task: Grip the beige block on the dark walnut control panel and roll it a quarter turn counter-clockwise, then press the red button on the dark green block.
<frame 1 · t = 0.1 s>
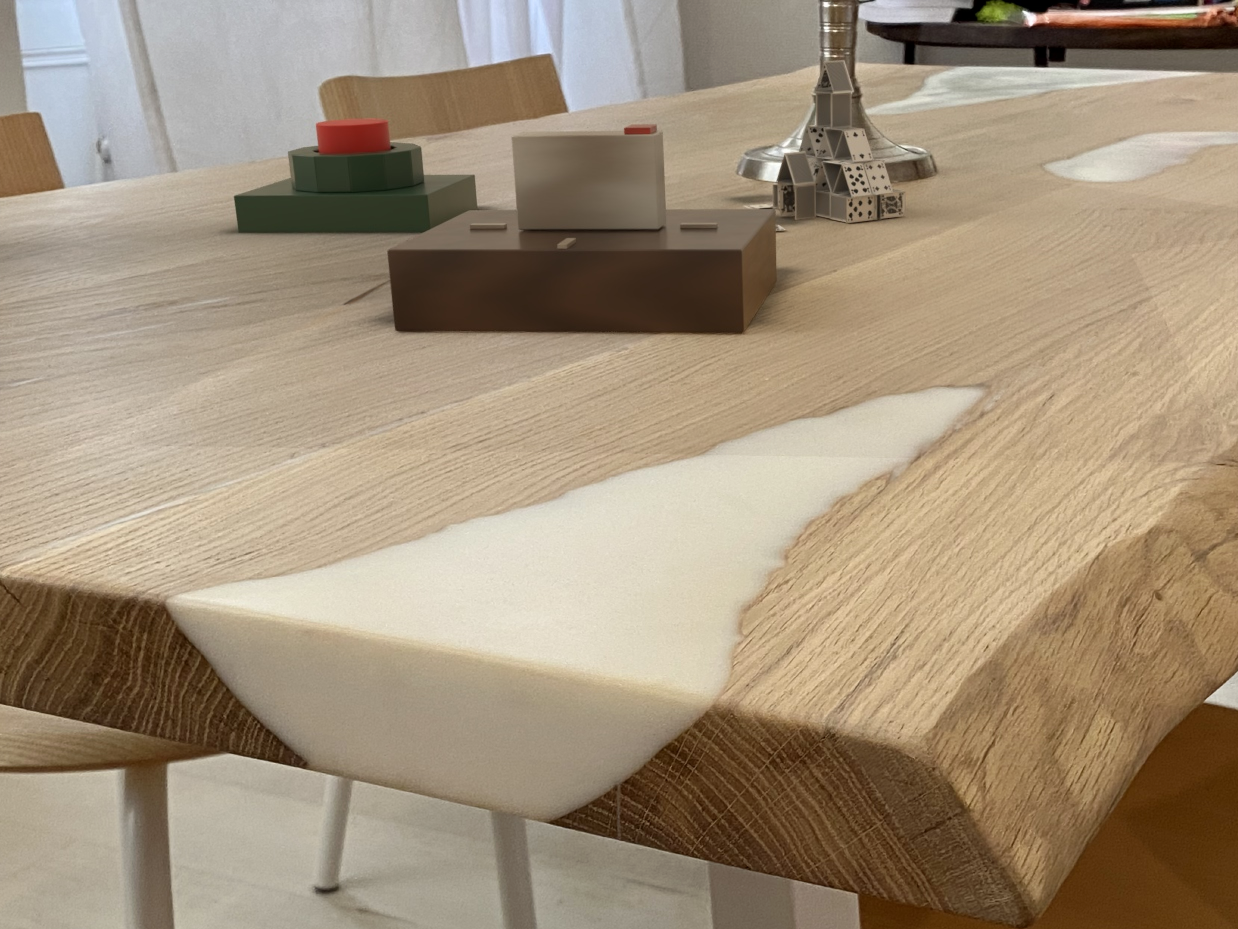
button: (353, 139, 83), point 4 cm above the table, slide at 0.1 cm
panel: (597, 305, 63), on the table
house of cards: (791, 218, 85), on the table
button block: (363, 227, 84), on the table
beige block: (589, 177, 62), point 5 cm above the table, hinge at 0.0°
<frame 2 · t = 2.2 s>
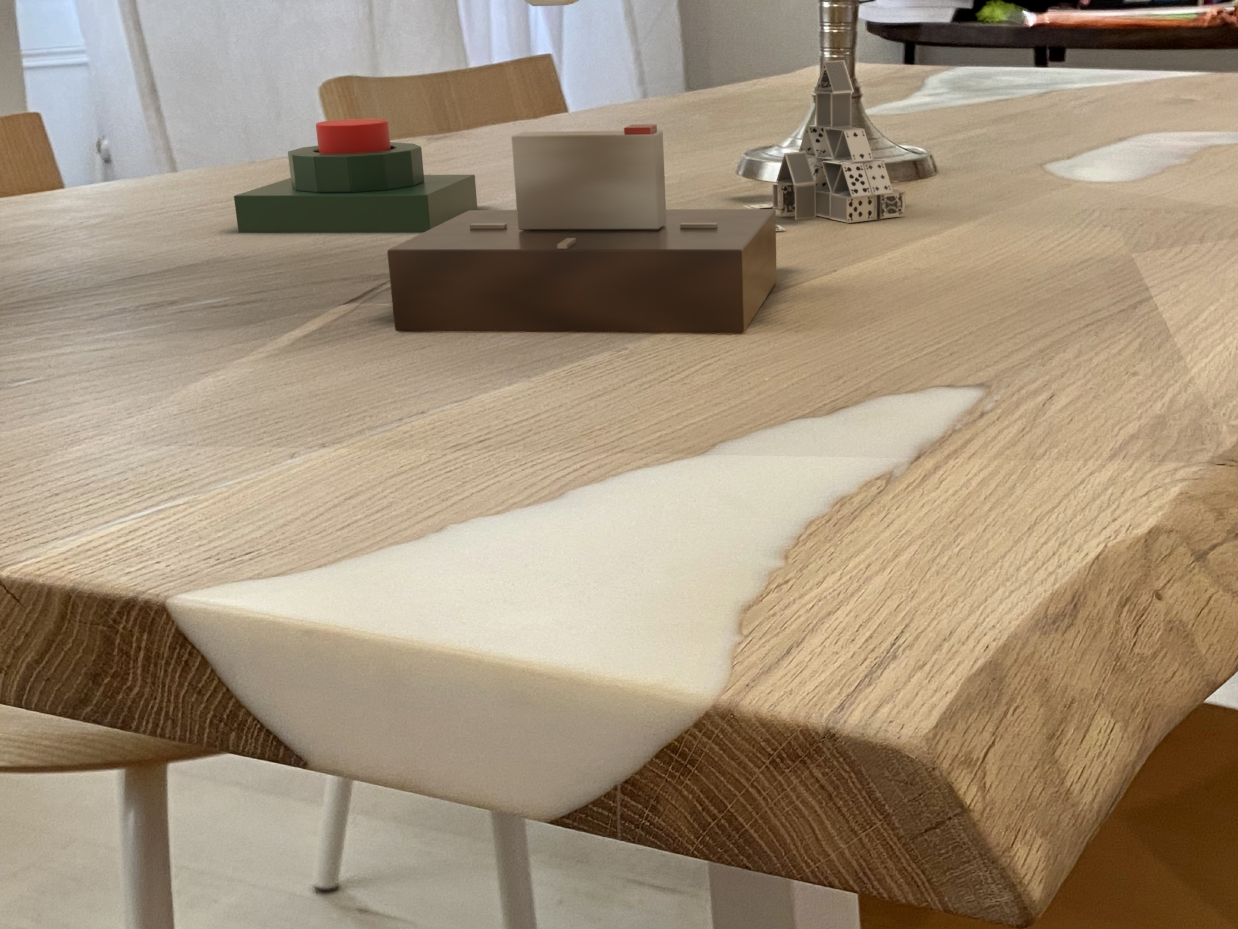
hand: (585, 2, 59), 11 cm above the table, tool pointing down, fingers open, 8 cm apart
nothing on the table moved.
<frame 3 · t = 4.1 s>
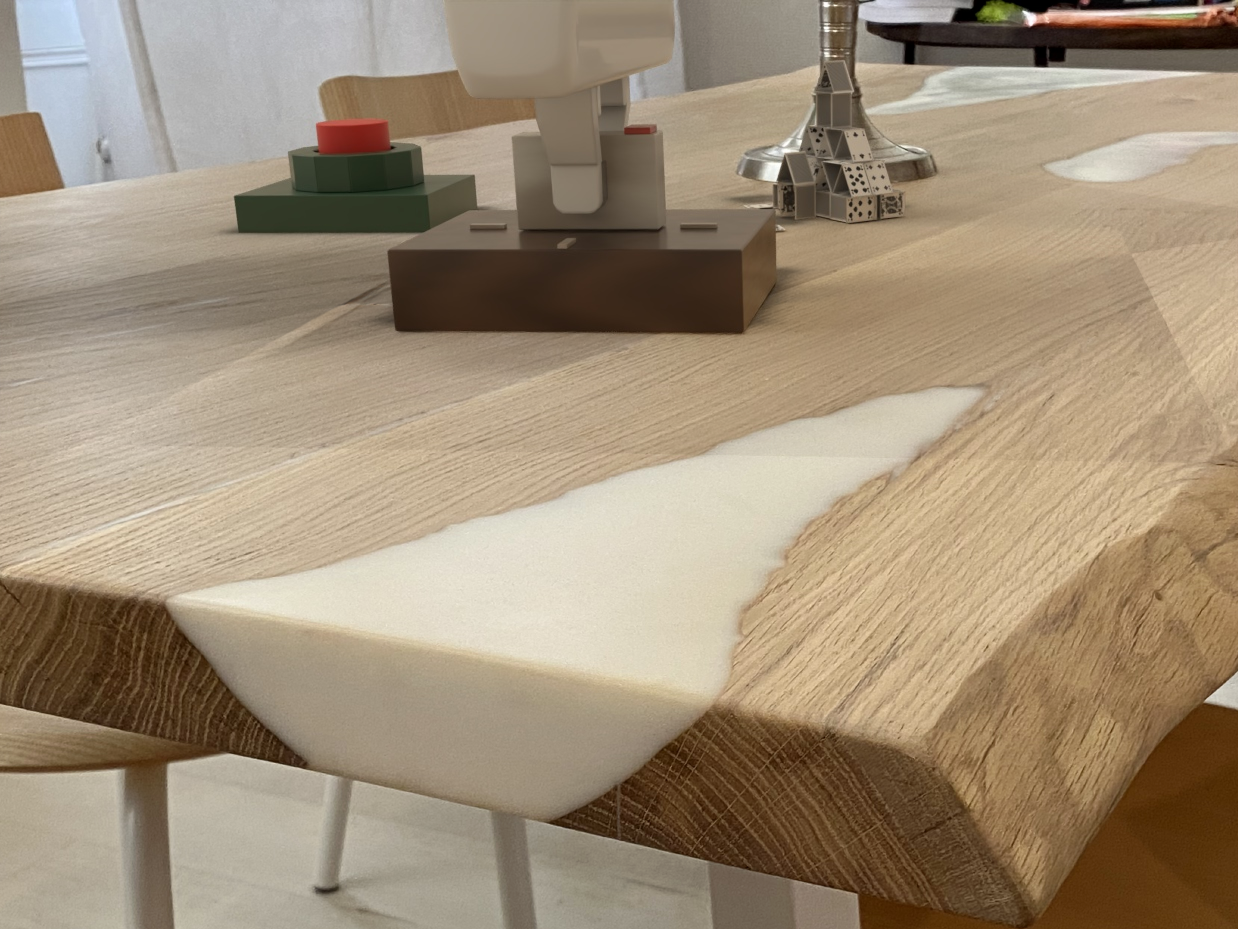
hand: (590, 205, 62), 4 cm above the table, tool pointing down, fingers closed on beige block, 2 cm apart
beige block: (589, 177, 62), point 5 cm above the table, hinge at 0.0°, touching gripper
everything else where it was.
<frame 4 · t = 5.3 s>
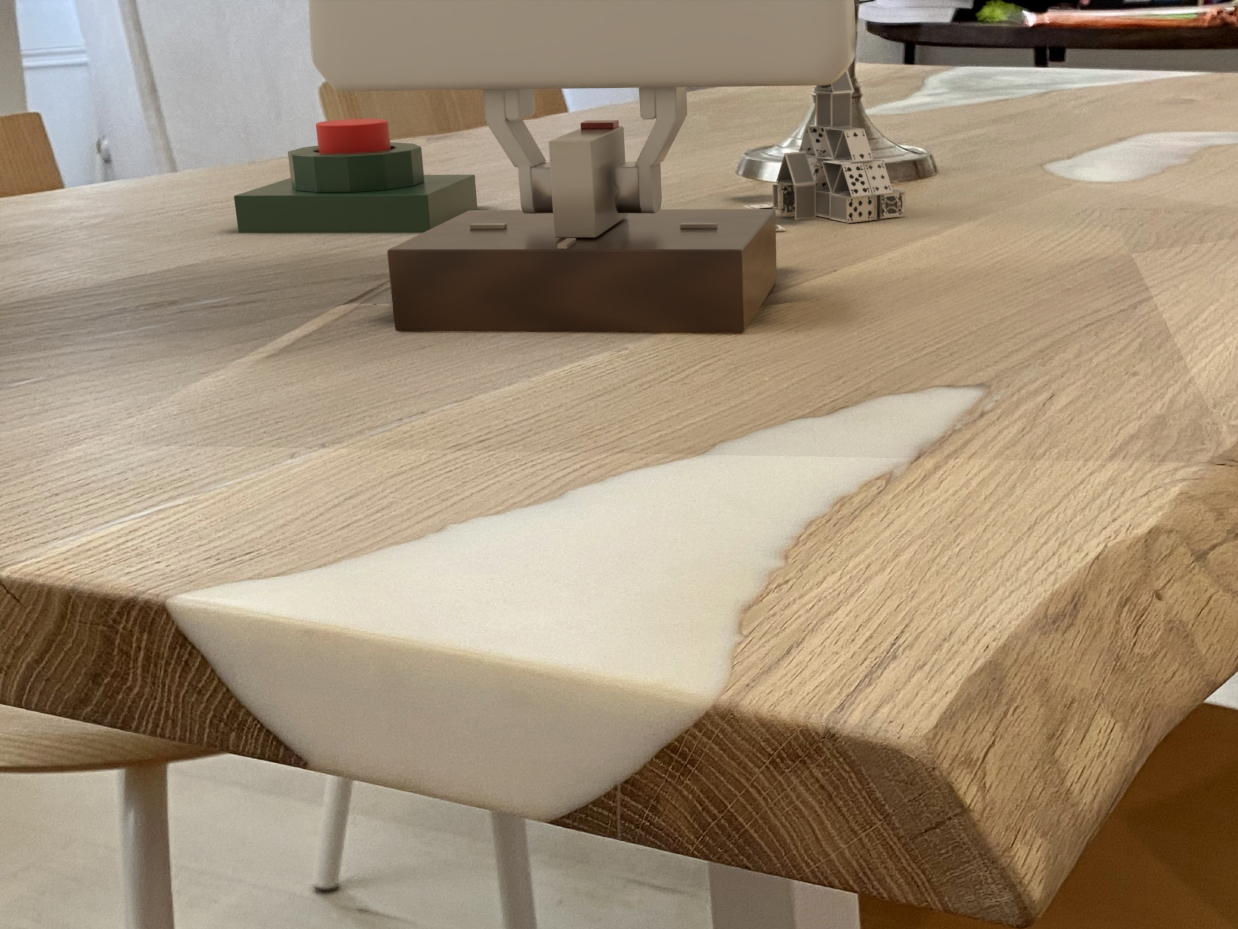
hand: (592, 211, 62), 4 cm above the table, tool pointing down, fingers closed
beige block: (589, 177, 62), point 5 cm above the table, hinge at 89.4°
everything else where it was.
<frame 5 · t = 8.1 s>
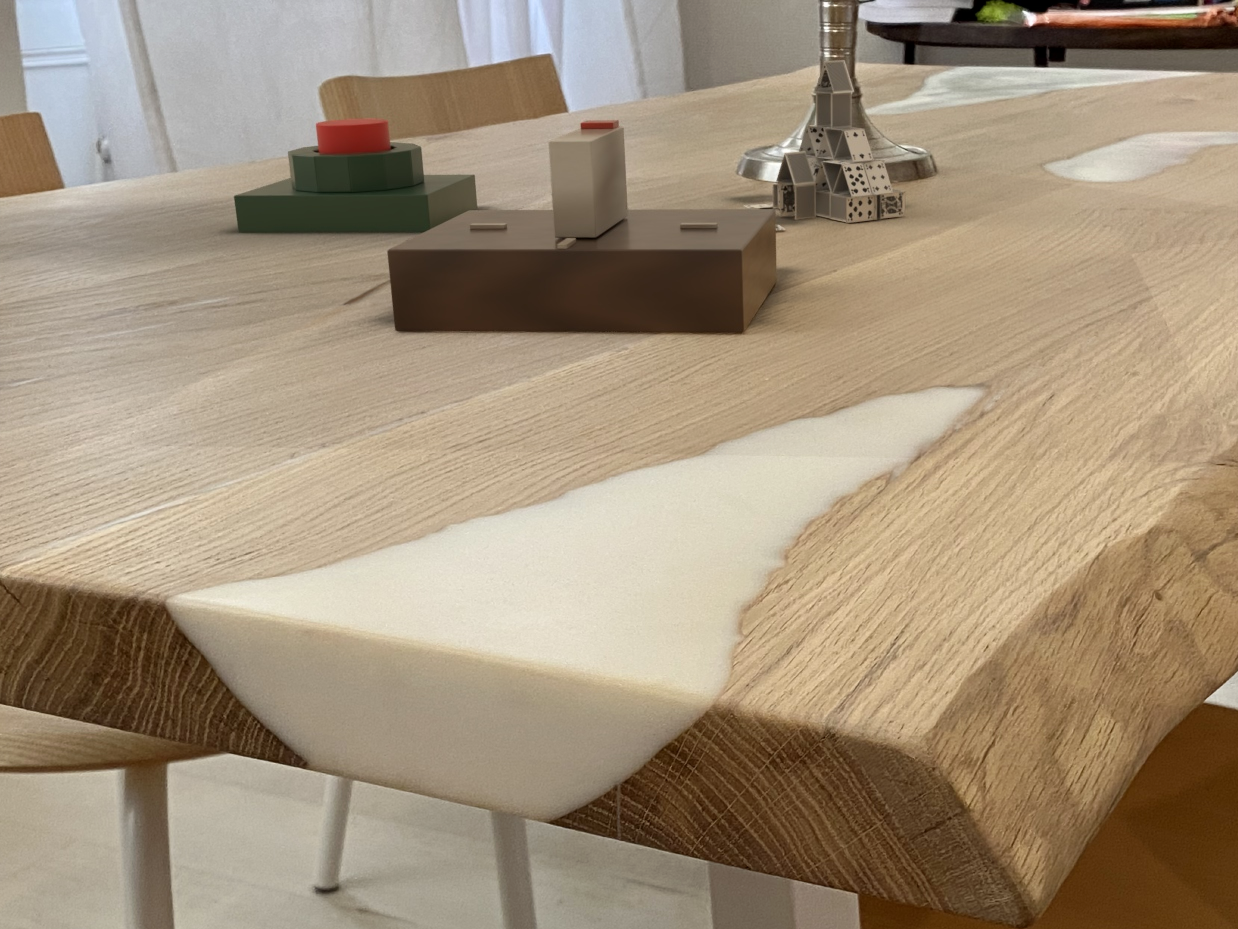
nothing on the table moved.
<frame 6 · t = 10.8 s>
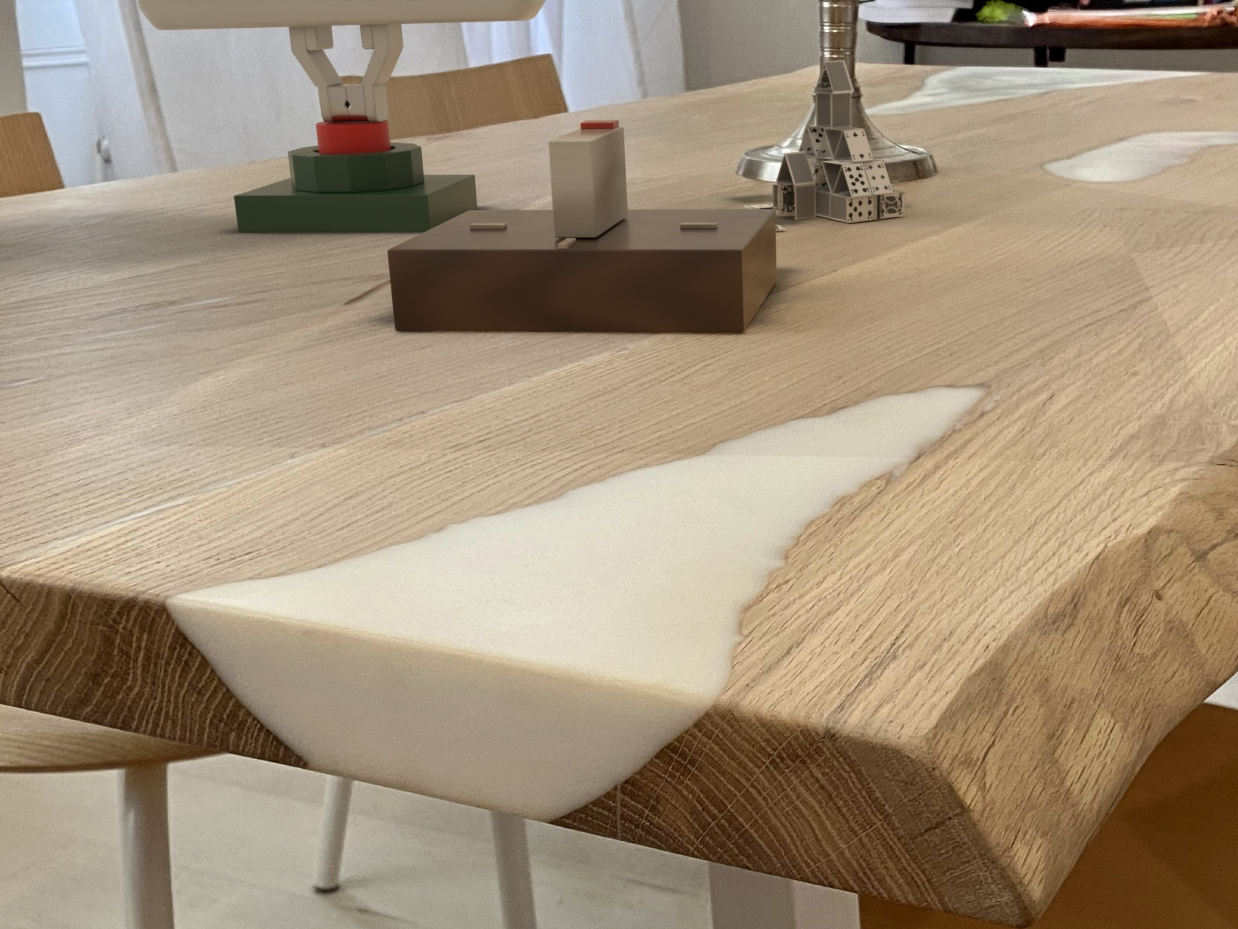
hand: (355, 121, 82), 5 cm above the table, tool pointing down, fingers closed, pressing on button
button: (353, 139, 83), point 4 cm above the table, slide at 0.1 cm, touching gripper
everything else where it was.
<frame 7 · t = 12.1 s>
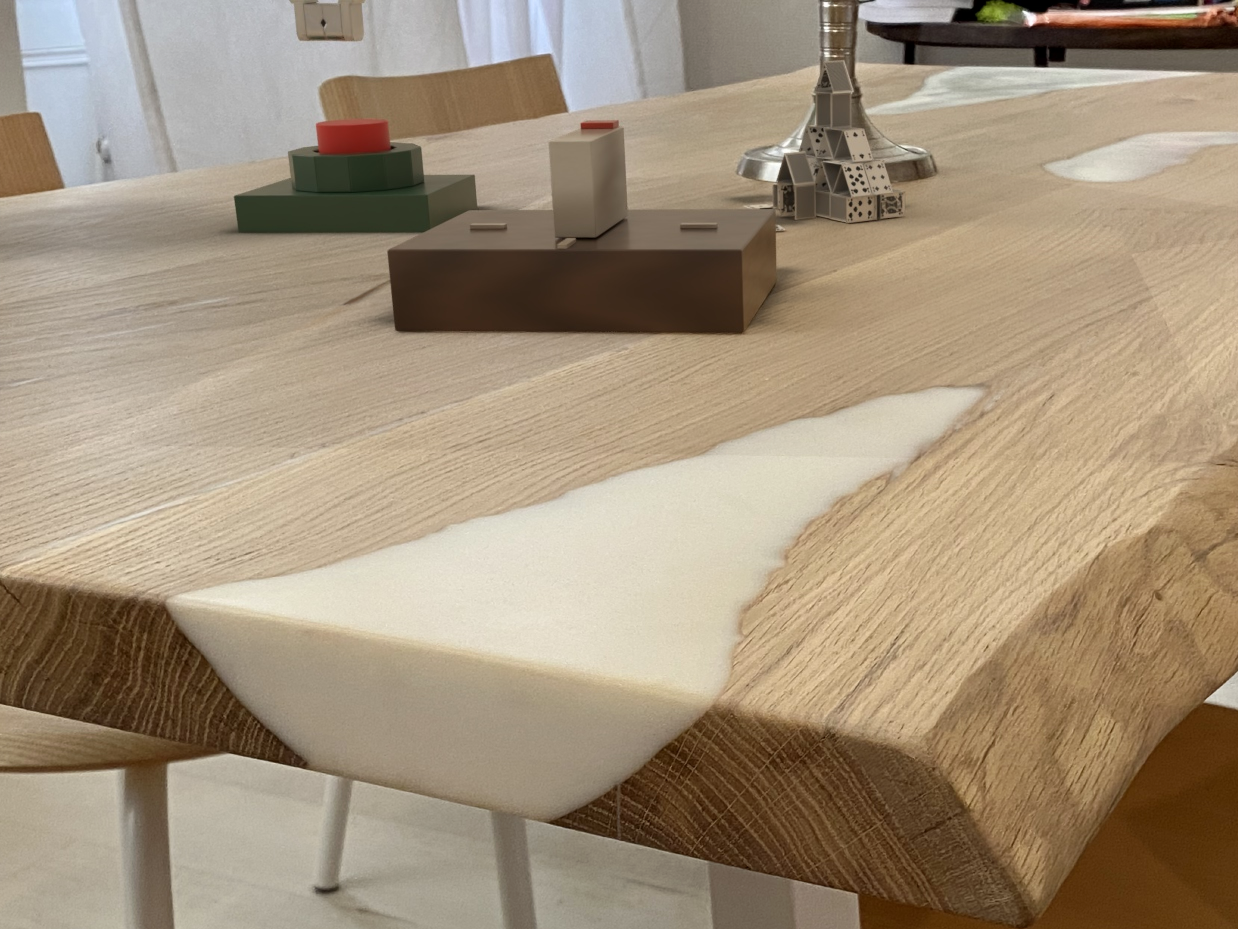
hand: (331, 40, 82), 9 cm above the table, tool pointing down, fingers closed
button: (353, 139, 83), point 4 cm above the table, slide at 0.1 cm
everything else where it was.
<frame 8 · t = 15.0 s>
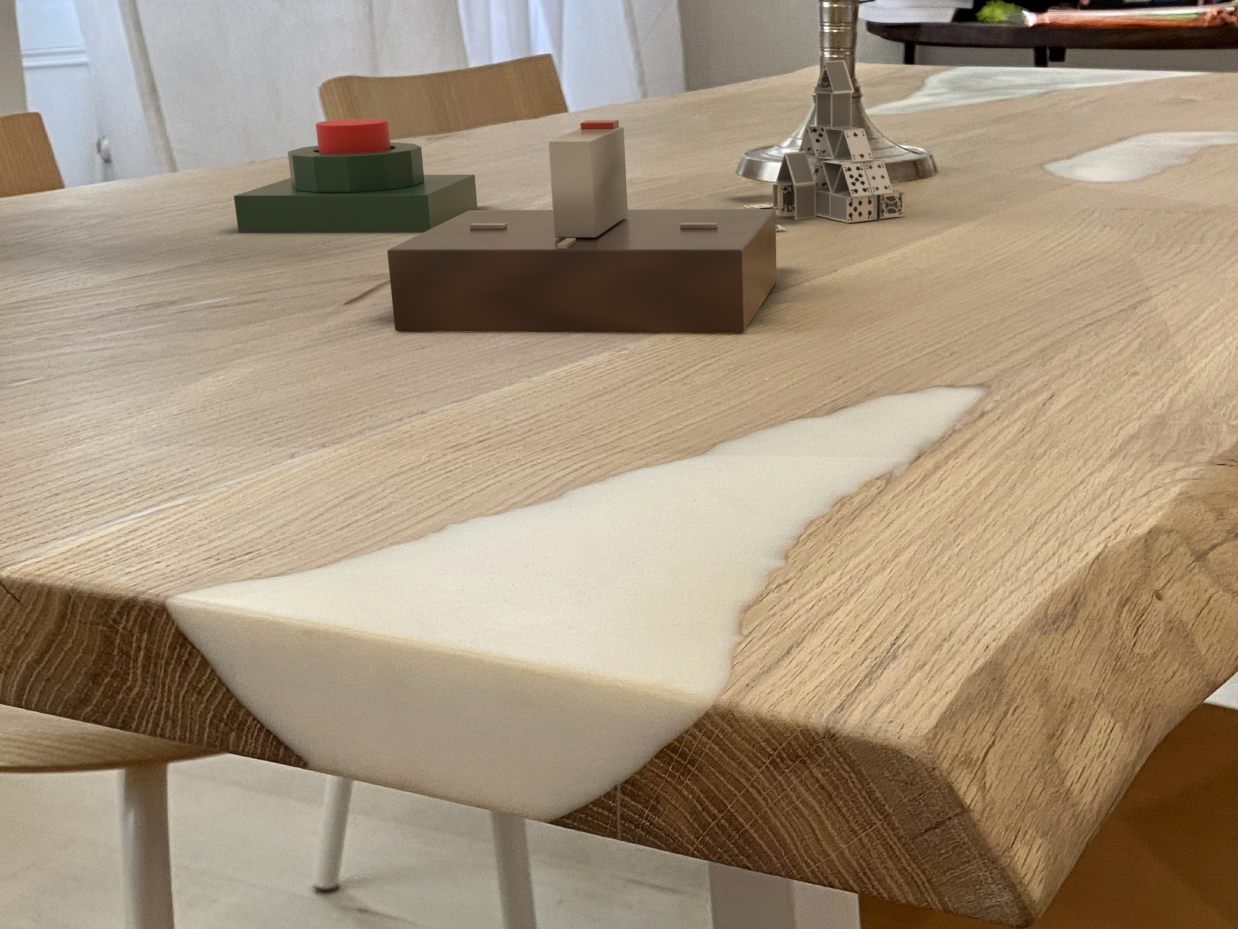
nothing on the table moved.
at the end: beige block at +89° (first picture: +0°); button pushed in 1.1 cm at the most during the clip, back to where it started at the end; button slide at 0.1 cm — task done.
